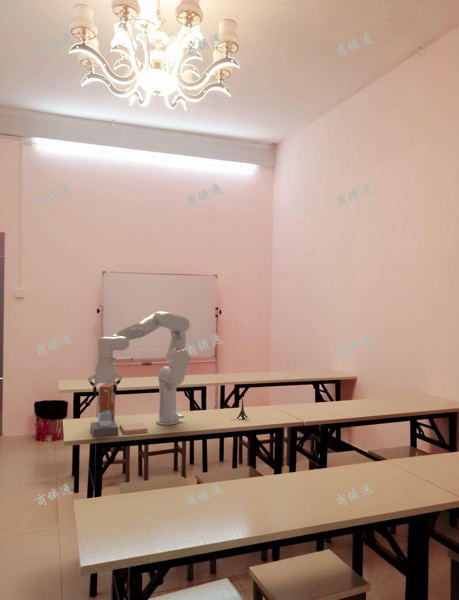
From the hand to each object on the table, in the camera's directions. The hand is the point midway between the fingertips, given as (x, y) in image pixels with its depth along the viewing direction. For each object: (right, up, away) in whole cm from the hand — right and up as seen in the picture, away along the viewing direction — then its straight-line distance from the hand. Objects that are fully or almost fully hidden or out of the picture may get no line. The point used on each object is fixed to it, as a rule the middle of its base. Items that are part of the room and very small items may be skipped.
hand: (105, 393), depth 242 cm
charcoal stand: (0, -20, 0) cm, 20 cm away
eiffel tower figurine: (+72, -22, +34) cm, 83 cm away
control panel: (-4, -20, +20) cm, 29 cm away
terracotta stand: (+14, -20, +6) cm, 25 cm away
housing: (0, -16, 0) cm, 16 cm away
